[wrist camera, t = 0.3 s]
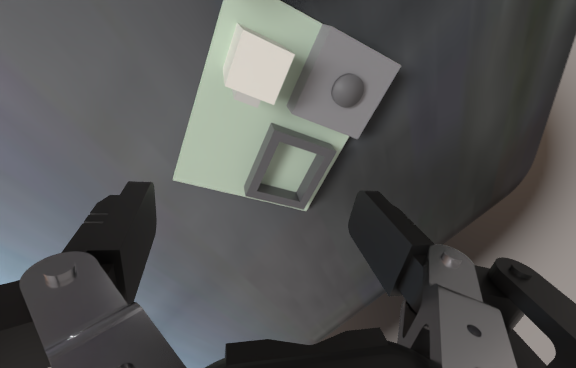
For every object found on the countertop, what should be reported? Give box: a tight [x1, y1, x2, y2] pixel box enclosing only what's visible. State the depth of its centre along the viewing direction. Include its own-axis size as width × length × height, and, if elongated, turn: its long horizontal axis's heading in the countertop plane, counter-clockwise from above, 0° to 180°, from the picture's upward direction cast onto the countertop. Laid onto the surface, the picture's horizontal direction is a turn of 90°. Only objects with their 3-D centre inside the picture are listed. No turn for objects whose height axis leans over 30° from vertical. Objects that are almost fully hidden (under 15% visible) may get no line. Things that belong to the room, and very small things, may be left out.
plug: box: [223, 23, 295, 108], centre depth 23 cm, size 5×4×6 cm
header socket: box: [244, 123, 337, 210], centre depth 32 cm, size 8×8×2 cm
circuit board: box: [173, 0, 401, 211], centre depth 29 cm, size 20×17×4 cm
